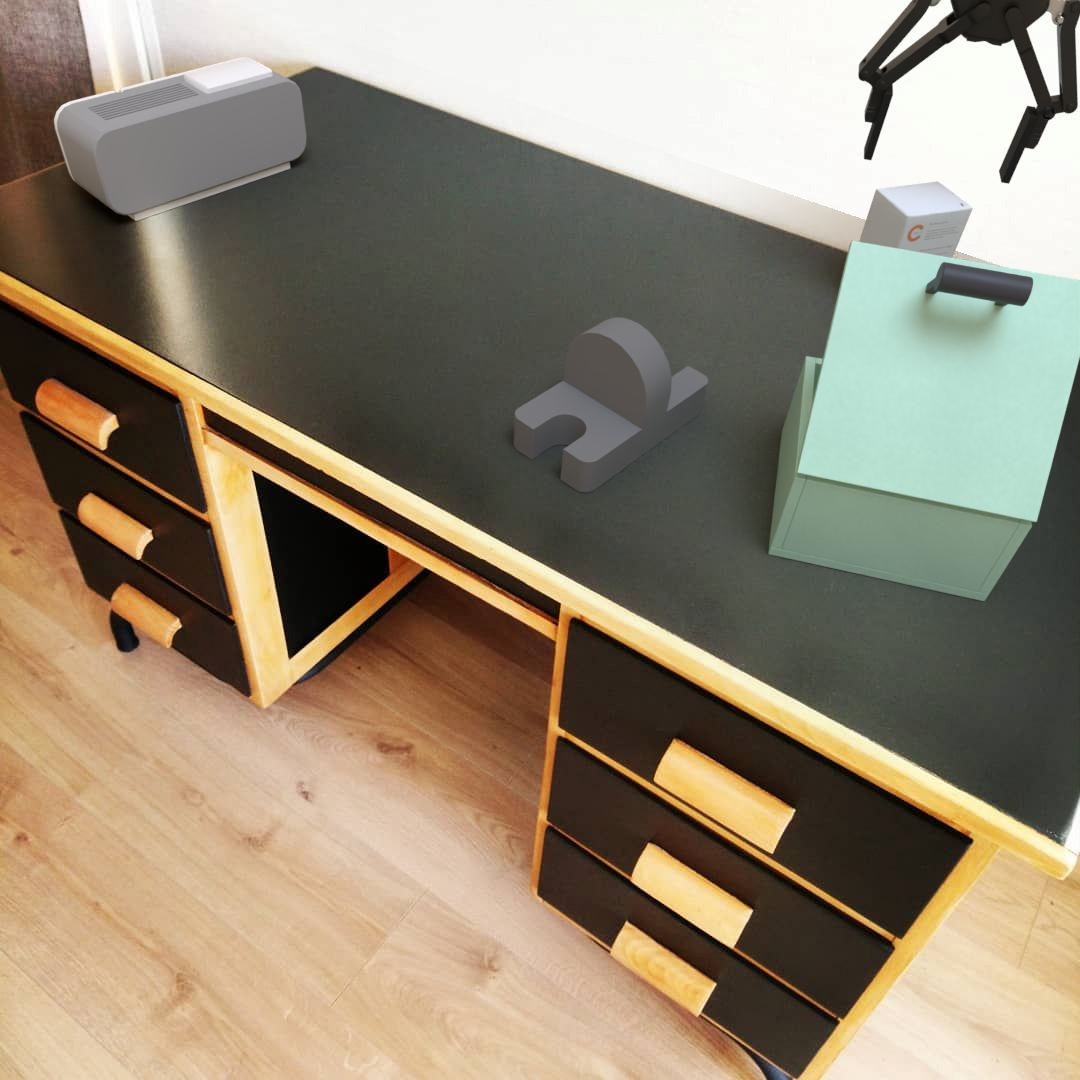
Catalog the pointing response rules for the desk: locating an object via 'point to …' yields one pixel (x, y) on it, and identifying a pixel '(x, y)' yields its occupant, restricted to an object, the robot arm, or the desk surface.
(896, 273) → the lid
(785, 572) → the desk surface
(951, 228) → the small box
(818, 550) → the compartment
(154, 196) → the alarm clock
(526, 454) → the bracket
